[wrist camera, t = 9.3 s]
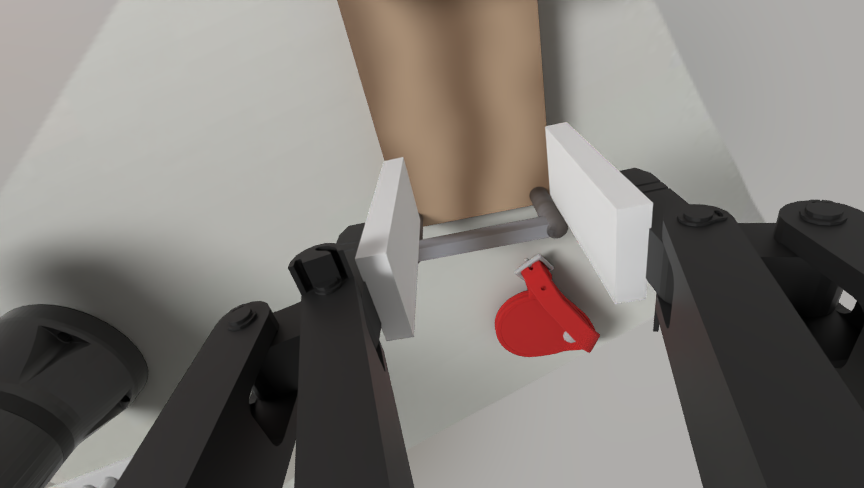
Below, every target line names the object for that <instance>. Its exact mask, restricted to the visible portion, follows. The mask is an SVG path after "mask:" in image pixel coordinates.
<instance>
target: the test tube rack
mask: <svg viewBox="0 0 864 488" xmlns="http://www.w3.org/2000/svg"><path fill="white" fill-rule="evenodd" d="M133 456H134V455H132V456H130V457H127V458H125V459H122V460H119V461H117V462H114V463H111V464H109V465H106V466H104V467H101V468H98V469H96V470H93V471H91V472H88V473H85V474H83V475H80V476H78V477H75V478H72V479H70V480H67V481H65V482H62V483H59V484H56V485H53V486H51V487H48V488H114V486H115V485H116V483H117V481H118V480H119V478H120V477H121V475H122V473H123V472H124V470H125V469H126V467H127V466H128V464H129V462H130V461H131V459H132V458H133Z"/></svg>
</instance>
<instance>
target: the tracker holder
mask: <svg viewBox="0 0 864 488" xmlns="http://www.w3.org/2000/svg"><path fill="white" fill-rule="evenodd" d="M524 261H525V262H526V263H524V264H523V265H522V266H520V267H519V268H517V269H516V270H515V271H514V273H515V274H516V275H518V276H519V277H520V278H522V279H523V280H525V282H526V285H527V289H528V290H527V291H524V292H521V293H518V294H517V295H515V296H513V297H511V298H510V299H508V300H507V301H506V302H505V303H504V304H503V305H502V306H501V308H500V309H499V311H498V313H497V315H496V318H495V330H496V335H497V338H498V340H499V342H500V343H501V345H502V346H503V347H504V348H505V349H506V350H508V351H509V352H511V353H513V354H516V355H519V356H523V357H536V356H544V355H551V354H556V353H559V352H563V351H568V350H581V349H583V350H585V351H587V352H589V353H590V352H591V351H592V349H593V347H594V345H595V344H596V342H597V340H598V338H599V337H600V334H599V333H597V332H596V331H595V329H594V326H593V324H592V323H591V321H590V319H589V318H588V317H587V316H586V314H585V313H584V312H582V311H581V310H580V309H579V308H578V307H577V306H576V305H575V304H573V303H572V302H571V301H570V300H568V299H567V298H566V297H565V296H564V295H563V294H562V293H561V291H560V290H559V289H558V288H557V286H556V285H555V284H554V282H553V281H552V274H551V273H550V271H551V270H553V269H554V267H553V266H552V265H551V264H550V263H549V262H548V261H547V260H546V259H545V258H544V257H543V256H542V255H540V254H537V255H536V256H534V257H533V258H531V259H530V260H529V259H527V258H525V259H524ZM545 265H546V266H547V267H546V266H545Z"/></svg>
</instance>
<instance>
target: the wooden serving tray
mask: <svg viewBox="0 0 864 488" xmlns="http://www.w3.org/2000/svg"><path fill="white" fill-rule="evenodd" d="M337 1H338V5H339V8H340V11H341V15H342V18H343V21H344V25H345V28H346V32H347V35H348V38H349V42H350V45H351V49H352V52H353V55H354V59H355V62H356V66H357V69H358V72H359V76H360V79H361V82H362V86H363V89H364V93H365V96H366V99H367V103H368V106H369V110H370V113H371V116H372V120H373V123H374V127H375V130H376V133H377V137H378V140H379V143H380V147H381V150H382V154H383V157H384V160H385V161H387V160H392V159H396V158H401V157H403V158H404V161H405V165H406V169H407V173H408V176H409V180H410V184H411V187H412V191H413V195H414V199H415V202H416V206H417V210H418V214H419V217H420V235H419V253H418V263H419V262H420V261H424V260H430V259H435V258H440V257H446V256H451V255H457V254H462V253H467V252H473V251H478V250H483V249H489V248H494V247H499V246H505V245H510V244H516V243H521V242H526V241H532V240H537V239H542V238H548V237H551V238H560V237H562V236H564V235H565V234H566V232H567V230H568V226H567V223H566V222H565V220H564V218H563V217H562V215H561V214H560V212H559V210H558V209H557V207H556V205H555V204H554V202H553V200H552V197H551V195H550V186H549V172H548V159H547V145H546V132H545V126H546V113H545V99H544V85H543V71H542V58H541V44H540V30H539V16H538V2H537V0H337ZM531 205H533V206H534V208H535V210H536V212H537V214H538V216H539V217H537V218H532V219H526V220H521V221H516V222H511V223H506V224H500V225H495V226H490V227H485V228H480V229H474V230H469V231H464V232H459V233H454V234H449V235H443V236H438V237H433V238H428V239H423V227H424V226H429V225H434V224H439V223H444V222H449V221H454V220H459V219H464V218H469V217H475V216H480V215H485V214H490V213H495V212H500V211H505V210H510V209H515V208H520V207H526V206H531Z"/></svg>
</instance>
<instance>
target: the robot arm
mask: <svg viewBox="0 0 864 488" xmlns="http://www.w3.org/2000/svg"><path fill="white" fill-rule="evenodd" d="M545 132H546V145H547V159H548V172H549V186H550V195H551V197H552V199H553V200H554V202H555V204H556V206H557V207H558V209H559V211H560V212H561V214H562V216H563V217H564V219H565V221H566V222H567V224H568V226H569V227H570V229H571V231H572V233H573V234H574V236H575V238H576V239H577V241H578V243H579V244H580V246H581V248H582V249H583V251H584V253H585V255H586V256H587V258H588V260H589V261H590V263H591V265H592V266H593V268H594V270H595V271H596V273H597V275H598V276H599V278H600V280H601V282H602V283H603V285H604V287H605V288H606V290H607V292H608V293H609V295H610V297H611V298H612V300H613V302H614V304H619V303H625V302H632V301H638V300H644V299H646V293H647V281H648V282H649V283H650V285H651V286H652V287H653V288H654V290H655V291H656V292H657V294H656V305H655V316H654V329H653V331H657V332H658V330H659V325H660V328H661V331H662V335H663V339H664V343H665V346H666V350H667V354H668V357H669V361H670V365H671V369H672V373H673V376H674V380H675V384H676V387H677V391H678V395H679V399H680V402H681V406H682V410H683V414H684V417H685V421H686V425H687V429H688V432H689V436H690V440H691V444H692V447H693V451H694V454H695V458H696V462H697V466H698V470H699V473H700V477H701V481H702V484H703V488H864V212H862V211H860V210H858V209H855V208H853V207H850V206H847V205H845V204H840V203H835V202H832V201H827V200H822V201H820V200H809V201H797V202H794V203H790V204H787V205H785V206H784V207H783V208H781V209H780V211H779V215H778V218H777V222H776V223H737V222H736V220H735V219H734V217H733V216H732V215H731V214H729V213H728V212H727V211H725V210H722V209H720V208H717V207H714V206H708V205H698V204H688V203H687V202H686V201H685V200H683V199H682V198H681V197H680V196H678V195H677V194H676V193H675V192H674V191H672V190H671V189H668V187H667V186H666V185H665V184H664V183H662V182H660V180H659V179H658V178H656V177H655V176H654V175H653V174H651V173H649V172H646V171H643V170H640V169H637V168H632V169H627V170H622V171H619V170H617V169H616V168H615V167H614V166H613V165H612V164H611V163H610V162H609V161H608V160H607V159H606V158H605V157H604V156H603V155H601V154H600V153H599V152H598V151H597V150H596V149H595V148H594V147H593V146H592V145H591V144H590V143H589V142H588V141H587V140H585V139H584V138H583V137H582V136H581V135H580V134H579V133H578V132H577V131H576V130H575V129H574V128H573V127H572V126H571V125H570V124H568V123H567V122H564V123H559V124H554V125H550V126H545ZM419 235H420V217H419V214H418V210H417V206H416V202H415V199H414V195H413V191H412V187H411V184H410V180H409V176H408V173H407V169H406V165H405V161H404V158H403V157H401V158H396V159H392V160H387V161H384V162H383V165H382V169H381V172H380V175H379V179H378V182H377V186H376V189H375V192H374V196H373V199H372V202H371V206H370V209H369V213H368V216H367V219H366V223H361V224H356V225H351V226H348V227H347V228H346V229H345V230H344V231H343V232H342V233H341V234H340V235H339V238H338V240H337V243H336V244H335V243H324V244H320V245H316V246H313V247H311V248H308V249H306V250H304V251H303V252H301V253H300V254H298V255H297V256H296V257H295V258H294V259H293V260H292V261H291V262H290V264H289V266H288V269H289V271H290V273H291V275H292V277H293V279H294V281H295V283H296V285H297V287H298V289H299V291H300V293H301V295H302V296H301V302H299V303H296V304H294V305H292V306H289V307H287V308H284V309H282V310H279V311H277V312H274V313H272V311H271V309H270V307H269V306H268V304H267V303H265V302H262V301H255V302H250V303H246V304H242V305H240V306H238V307H237V308H234V309H232V310H231V311H230V312H229V313H227V314H226V315H225V316H223V317H222V318H221V319H220V321H219V322H218V323H217V324H216V326H215V327H214V329H213V330H212V332H211V334H210V335H209V337H208V338H207V340H206V341H205V343H204V345H203V346H202V348H201V349H200V351H199V353H198V354H197V356H196V357H195V359H194V361H193V362H192V364H191V365H190V367H189V369H188V370H187V372H186V373H185V375H184V376H183V378H182V380H181V381H180V383H179V384H178V386H177V388H176V389H175V391H174V392H173V394H172V396H171V397H170V399H169V400H168V402H167V403H166V405H165V407H164V408H163V410H162V411H161V413H160V415H159V416H158V418H157V419H156V421H155V423H154V424H153V426H152V427H151V429H150V431H149V432H148V434H147V435H146V437H145V438H144V440H143V442H142V443H141V445H140V446H139V448H138V450H137V451H136V453H135V454H134V456H133V458H132V459H131V461H130V462H129V464H128V466H127V467H126V469H125V470H124V472H123V473H122V475H121V477H120V478H119V480H118V481H117V483H116V485H115V486H114V488H282V487H283V483H284V480H285V476H286V473H287V469H288V465H289V462H290V459H291V455H292V451H293V448H294V444H295V441H296V457H295V458H296V459H295V484H294V488H414V484H413V480H412V475H411V471H410V466H409V462H408V458H407V453H406V448H405V444H404V439H403V435H402V430H401V426H400V422H399V417H398V413H397V408H396V404H395V399H394V395H393V390H392V386H391V381H390V377H389V372H388V368H387V363H386V359H385V354H384V351H383V348H382V346H381V343H380V341H379V337H380V331H381V328H382V330H383V333H384V336H385V338H386V341H391V340H397V339H403V338H409V337H414V326H415V308H416V290H417V271H418V253H419ZM843 290H845V291H846V292H847V293H849V294H850V295H851V296H853V297H854V298H855V299H856V300H857V302H856V304H855V307H854V309H853V310H852V311H850V310H849V309H847V308H845V307H844V306H843V305H841V304H840V303H839V299H840V296H841V294H842V292H843ZM147 378H148V370H147V365H146V363H145V360H144V358H143V356H142V355H141V353H140V352H139V350H138V349H137V348H136V346H135V345H134V344H133V343H132V342H131V341H130V340H129V339H128V338H127V337H125V336H124V335H123V334H122V333H120V332H119V331H118V330H116V329H115V328H113V327H112V326H110V325H108V324H107V323H105V322H103V321H101V320H99V319H97V318H95V317H92V316H90V315H88V314H85V313H82V312H79V311H76V310H73V309H69V308H64V307H59V306H52V305H28V306H23V307H19V308H16V309H13V310H11V311H9V312H7V313H6V314H5V315H3V316H2V317H1V318H0V488H44V487H45V486H46V485H47V484H48V482H49V481H50V480H51V478H52V477H53V476H54V475H55V473H56V472H57V471H58V469H59V468H60V467H61V465H62V464H63V463H64V461H65V460H66V459H67V458H68V456H69V455H70V454H71V453H72V452H73V450H74V449H75V448H76V447H77V446H78V445H79V444H80V443H81V442H82V441H84V440H85V439H86V438H88V437H89V436H90V435H92V434H93V433H94V432H96V431H97V430H98V429H100V428H101V427H102V426H104V425H105V424H106V423H108V422H109V421H110V420H111V419H113V418H114V417H115V416H117V415H118V414H119V413H121V412H122V411H123V410H125V409H126V408H127V407H128V406H129V405H130V404H131V403H132V402H133V401H134V399H135V398H136V397H137V395H138V394H139V393H140V391H141V390H142V389H143V387H144V386H145V384H146V382H147ZM251 390H252V395H251V397H250V393H251ZM249 397H250V399H249Z"/></svg>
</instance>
